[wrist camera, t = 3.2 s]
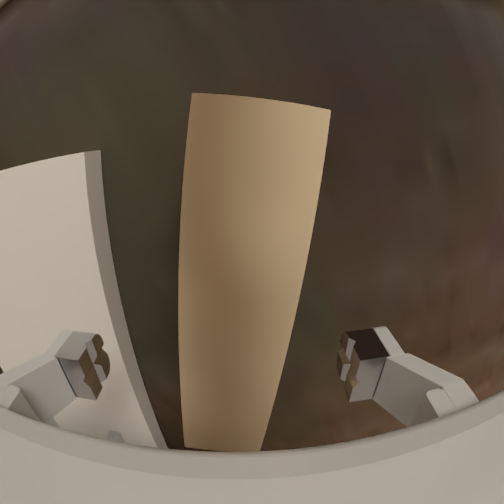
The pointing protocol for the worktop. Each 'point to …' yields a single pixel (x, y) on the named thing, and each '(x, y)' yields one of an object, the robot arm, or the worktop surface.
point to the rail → (242, 258)
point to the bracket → (68, 289)
